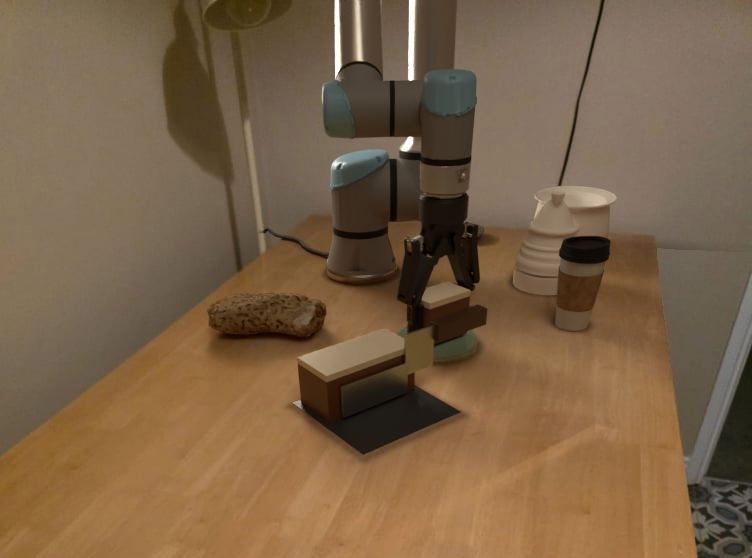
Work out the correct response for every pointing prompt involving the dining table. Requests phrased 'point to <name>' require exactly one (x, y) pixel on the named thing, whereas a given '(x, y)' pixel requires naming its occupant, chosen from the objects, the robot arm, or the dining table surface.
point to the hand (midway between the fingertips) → (437, 333)
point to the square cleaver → (408, 360)
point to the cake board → (387, 420)
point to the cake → (346, 369)
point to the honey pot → (544, 247)
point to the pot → (583, 207)
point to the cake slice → (443, 302)
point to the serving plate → (452, 346)
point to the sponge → (267, 314)
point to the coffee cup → (579, 279)
